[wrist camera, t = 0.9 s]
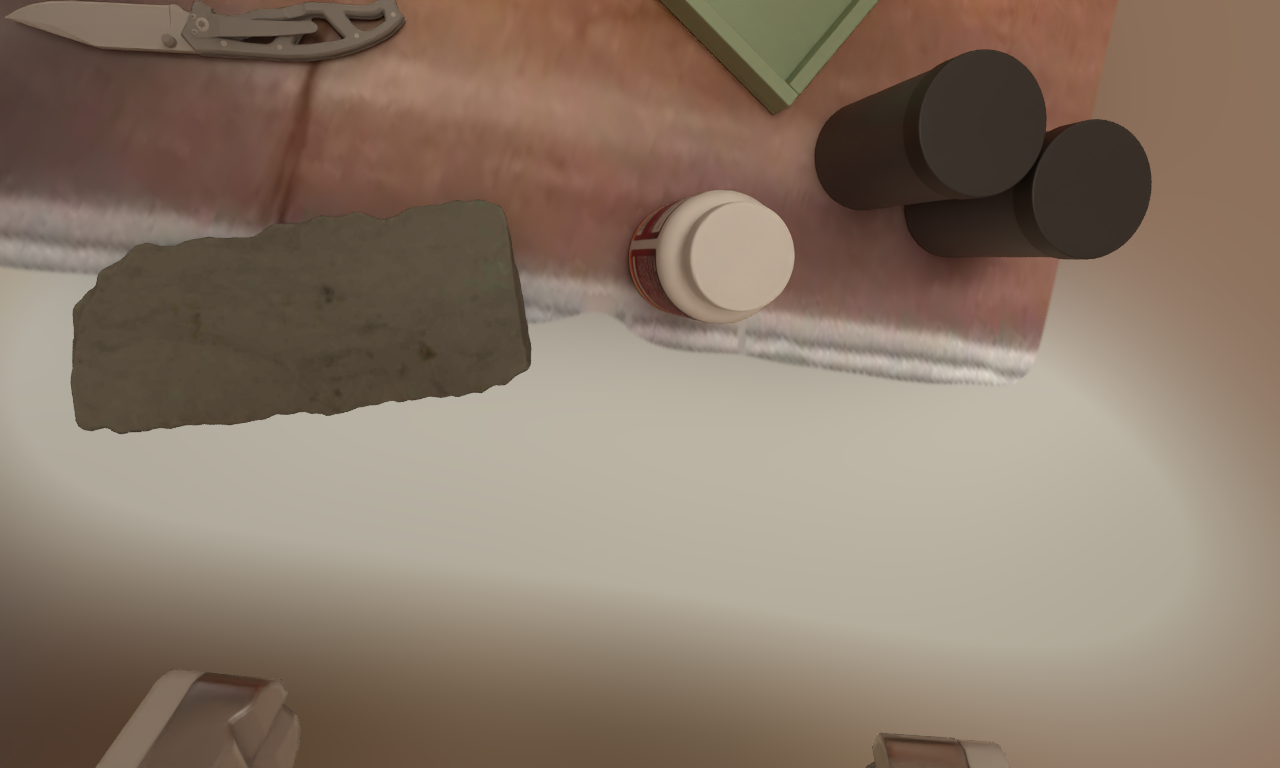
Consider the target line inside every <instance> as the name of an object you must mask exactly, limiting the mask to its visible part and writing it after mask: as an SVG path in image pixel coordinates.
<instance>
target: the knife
mask: <svg viewBox="0 0 1280 768" xmlns="http://www.w3.org/2000/svg"><path fill="white" fill-rule="evenodd" d="M382 16H385V21H384V22H383V23H381V24H380V25H379V26H377V27H376V28H374V29H372V30H368V31H364V30H360V29H358V28H356V27H355V26H354V25H353V24H352V23H351V21H350V20H349V19H363V20H374V19H378V18H381V17H382ZM4 18H7V19H10V20H13V21H16V22H19V23H22V24H25V25H28V26H31V27H34V28H37V29H40V30H43V31H46V32H49V33H52V34H55V35H58V36H62V37H65V38H68V39H71V40H74V41H78V42H81V43H84V44H87V45H90V46H93V47H96V48H99V49H113V50H133V51H154V52H173V53H193V54H199V55H200V56H203V57H230V58H245V59H259V60H273V61H287V62H290V61H317V60H324V59H331V58H337V57H341V56H345V55H349V54H352V53H356V52H359V51H362V50H364V49H367V48H369V47H372V46H374V45H376V44H378V43H380V42H382V41H384V40H386V39H387V38H389V37H391V36H392V35H393V34H394V33H395V32H397V31H398V30H399V29H400V27H401V26H402V25H403V24H404V23H405V19H404V18H405V17H404V16H403V15H402V14H401V13H400V11H399V10H398V7H397V4H396V0H377V1H376V2H374V3H372V4H370V5H363V6H362V5H349V4H337V3H319V2H308V3H302V4H298V5H293V6H288V7H283V8H277V9H256V10H252V11H250V12H247V13H244V14H241V15H220V14H216V13H215V12H213V8H211V7H210V6H208V5H206V4H205V3H203V2H201V1H200V0H197V1H194V2H193V5H192V9H191V12H186V11H184V10H182V9H181V8H180V7H179V6H178V5H175V4H170V5H144V4H126V3H107V2H86V1H47V2H42V3H36V4H32V5H28V6H25V7H22V8H20V9H18V10H16V11H14V12H13V13H11V14H9V15H8V16H6V17H4ZM313 18H323V19H326V20H327V21H328V22H329V23H330V25H331V26H332V27H333V28H334V29H335V30H336V31H337V32H338V33H339V34H340V35H341V36H342V37H343V38H344V39H341V40H336V41H330V42H323V43H315V44H304V45H297V44H298V43H299V42H300V40H301V39H302V37H303V36H304V34H308V33H314V32H316V31H317V29H318V27H317V25H316V24H315V23H314V22H312V19H313ZM259 36H278V37H277V38H276V39H275V40H274V41H273V42H272V43H270V44H256V43H249V42H242V40H245V39H248V38H250V37H259Z"/></svg>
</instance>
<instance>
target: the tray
mask: <svg viewBox="0 0 1280 768" xmlns="http://www.w3.org/2000/svg"><path fill="white" fill-rule="evenodd" d="M660 1H661V2H662V3H663V4H664V5H665V6H666V7H667V8H668V9H669V10H670V11H671V12H672V13H673V14H674V15H675V16H676V17H677V18H678V19H679V20H680V21H681V22H682V23H683V24H684V25H685V26H686V27H687V28H688V29H689V30H690V31H691V32H692V33H693V34H694V35H695V36H696V37H697V38H698V39H699V40H700V41H701V42H702V43H703V45H704V46H705V47H706V48H707V49H708V50H709V51H710V52H711V53H712V54H713V55H714V56H715V57H716V58H717V59H718V60H719V61H720V62H721V63H722V64H723V65H724V66H725V67H726V68H727V69H728V70H729V71H730V72H731V73H732V74H733V75H734V76H735V77H736V78H737V79H738V80H739V81H740V82H741V83H742V84H743V85H744V86H745V87H746V88H747V89H748V90H749V91H750V92H751V93H752V94H753V95H754V96H755V97H756V98H757V99H758V100H759V101H760V102H761V103H762V104H763V105H764V106H765V107H766V108H767V109H768V110H769V111H770V112H771V113H772V114H775V113H777V112H779V111H781V110H783V109H785V108H787V107H789V106H791V104H792V103H793V102H794V101H795V100H796V98H797V97H798V95H800V94H801V92H802V91H803V90H804V89H805V88H806V86H807V85H808V84H809V83H810V82H811V81H812V79H813V78H814V77H815V76H816V75H817V73H818V72H819V71H820V70H821V69H822V67H823V66H824V65H825V64H826V63H827V61H828V60H829V59H830V58H831V57H832V55H833V54H834V53H835V52H836V51H837V50H838V48H839V47H840V46H841V45H842V44H843V42H844V41H845V40H846V39H847V38H848V36H849V35H850V34H851V33H852V32H853V30H854V29H855V28H856V27H857V26H858V24H859V23H860V22H861V21H862V20H863V18H864V17H865V16H866V15H867V14H868V13H869V11H870V10H871V9H872V8H873V7H874V5H875V4H876V3H877V2H878V1H879V0H660Z"/></svg>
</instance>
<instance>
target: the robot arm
mask: <svg viewBox="0 0 1280 768" xmlns="http://www.w3.org/2000/svg"><path fill="white" fill-rule="evenodd" d="M287 695H288V692H287V690H286V688H285V686H284V684H283V682H282V680H281V679H271V678H260V677H249V676H239V675H227V674H217V673H211V672H203V671H190V670H178V669H171V670H170V671H168V672H167V673H166V674H164V675H163V676H162V677H161V678H159V679H158V680H157V681H156V683H155V684H154V686H153V687H152V689H151V690H150V691H149V693H148V694H147V696H146V697H145V698H144V700H143V701H142V703H141V704H140V706H139V707H138V708H137V710H136V711H135V713H134V714H133V716H132V717H131V718H130V720H129V721H128V723H127V724H126V725H125V727H124V728H123V730H122V731H121V732H120V734H119V735H118V737H117V738H116V739H115V741H114V742H113V744H112V745H111V747H110V748H109V749H108V751H107V752H106V754H105V755H104V756H103V758H102V759H101V761H100V762H99V764H98V765H97V766H96V768H293V765H294V763H295V760H296V756H297V752H298V747H299V743H300V723H299V720H298V717H297V715H296V713H295V712H293V711H292V710H291V709H290V708H288V707H287V706H285V705H284V704H283V703H284V701H285V699H286V697H287ZM872 749H873V756H874V762H873V763H871V764H870V765H868V766H866V768H1010V767H1009V764H1008V761H1007V758H1006V755H1005V753H1004V752H1003V750H1002V749H1001V747H1000V746H999V745H998V744H996V743H994V742H986V741H974V740H961V739H955V738H946V737H932V736H917V735H904V734H889V733H879V734H878V735H877V736H876V737H875V740H874V743H873V746H872Z"/></svg>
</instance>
